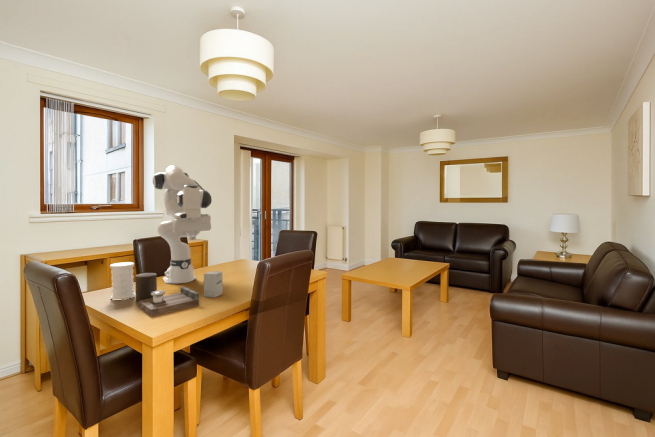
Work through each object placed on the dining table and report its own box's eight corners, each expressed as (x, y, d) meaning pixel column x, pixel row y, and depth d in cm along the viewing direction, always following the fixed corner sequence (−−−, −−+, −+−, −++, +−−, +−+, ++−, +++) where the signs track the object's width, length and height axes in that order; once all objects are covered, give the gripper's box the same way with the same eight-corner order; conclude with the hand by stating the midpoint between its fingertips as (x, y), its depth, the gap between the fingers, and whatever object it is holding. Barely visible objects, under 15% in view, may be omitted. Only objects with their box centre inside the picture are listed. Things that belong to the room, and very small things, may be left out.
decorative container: (136, 298, 176) (135, 264, 175) (110, 302, 170) (109, 267, 169) (135, 293, 186) (134, 261, 185) (110, 296, 179) (109, 263, 178)
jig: (138, 306, 162) (138, 294, 162) (184, 297, 178) (184, 286, 177) (151, 316, 149) (150, 303, 149) (199, 305, 165) (198, 293, 165)
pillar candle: (145, 304, 166) (145, 274, 165) (131, 302, 169) (130, 273, 168) (161, 299, 175) (161, 271, 174) (147, 297, 178) (147, 269, 177)
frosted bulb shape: (149, 308, 160) (149, 292, 160) (162, 305, 164) (162, 289, 164) (154, 311, 156) (153, 294, 155) (167, 308, 160) (166, 292, 160)
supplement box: (216, 297, 178) (215, 274, 177) (203, 296, 179) (203, 273, 178) (223, 293, 185) (222, 271, 184) (211, 293, 186) (210, 270, 186)
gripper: (207, 213, 191) (208, 237, 192) (170, 214, 176) (171, 240, 177) (213, 214, 186) (213, 238, 187) (175, 215, 172) (175, 242, 173)
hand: (192, 239), depth 182 cm, fingers closed
